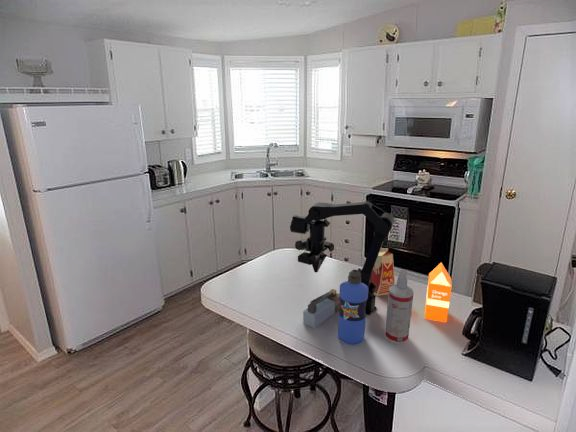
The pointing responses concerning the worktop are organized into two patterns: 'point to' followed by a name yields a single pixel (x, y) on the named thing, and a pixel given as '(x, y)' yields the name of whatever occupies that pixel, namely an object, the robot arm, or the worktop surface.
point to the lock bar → (324, 297)
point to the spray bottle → (399, 310)
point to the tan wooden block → (336, 301)
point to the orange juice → (438, 294)
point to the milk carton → (383, 272)
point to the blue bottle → (352, 309)
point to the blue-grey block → (318, 312)
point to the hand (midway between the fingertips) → (316, 272)
